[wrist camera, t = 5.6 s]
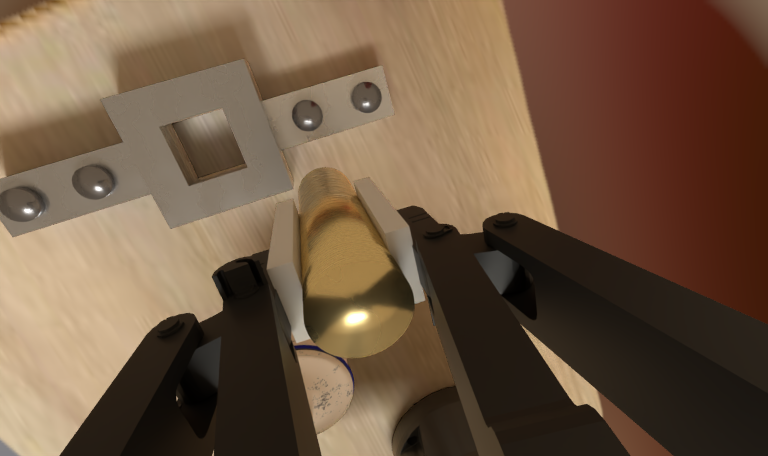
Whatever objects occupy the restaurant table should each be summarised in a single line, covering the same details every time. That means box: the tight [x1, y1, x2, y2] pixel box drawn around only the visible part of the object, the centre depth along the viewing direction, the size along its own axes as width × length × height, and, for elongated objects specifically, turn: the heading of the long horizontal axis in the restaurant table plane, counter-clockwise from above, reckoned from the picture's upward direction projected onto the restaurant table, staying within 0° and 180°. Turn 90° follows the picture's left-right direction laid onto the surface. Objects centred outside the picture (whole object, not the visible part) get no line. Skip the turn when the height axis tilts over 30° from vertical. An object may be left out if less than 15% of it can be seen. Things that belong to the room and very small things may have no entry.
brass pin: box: [298, 167, 415, 358], centre depth 15 cm, size 3×3×12 cm
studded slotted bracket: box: [0, 59, 395, 237], centre depth 29 cm, size 10×30×4 cm, turn 105°
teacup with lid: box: [291, 331, 354, 435], centre depth 33 cm, size 12×9×12 cm
